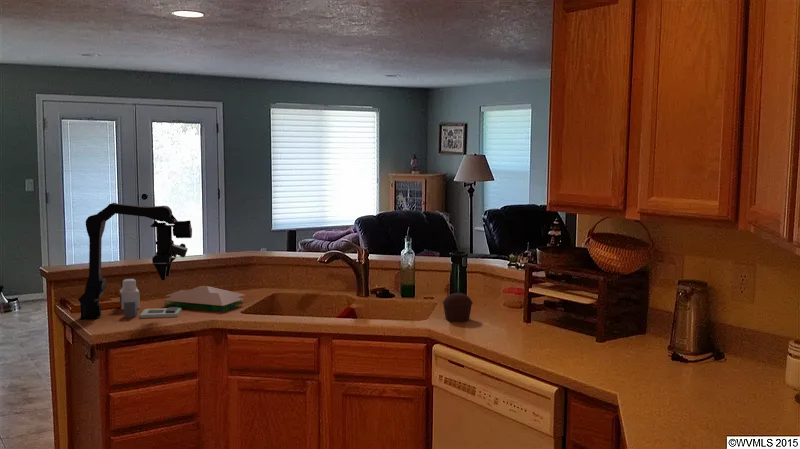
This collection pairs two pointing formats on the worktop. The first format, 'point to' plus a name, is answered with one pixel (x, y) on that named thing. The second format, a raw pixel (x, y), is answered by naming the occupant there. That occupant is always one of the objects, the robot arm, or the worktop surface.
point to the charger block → (130, 308)
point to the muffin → (457, 307)
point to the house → (205, 297)
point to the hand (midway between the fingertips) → (165, 278)
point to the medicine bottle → (129, 291)
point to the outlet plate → (161, 312)
